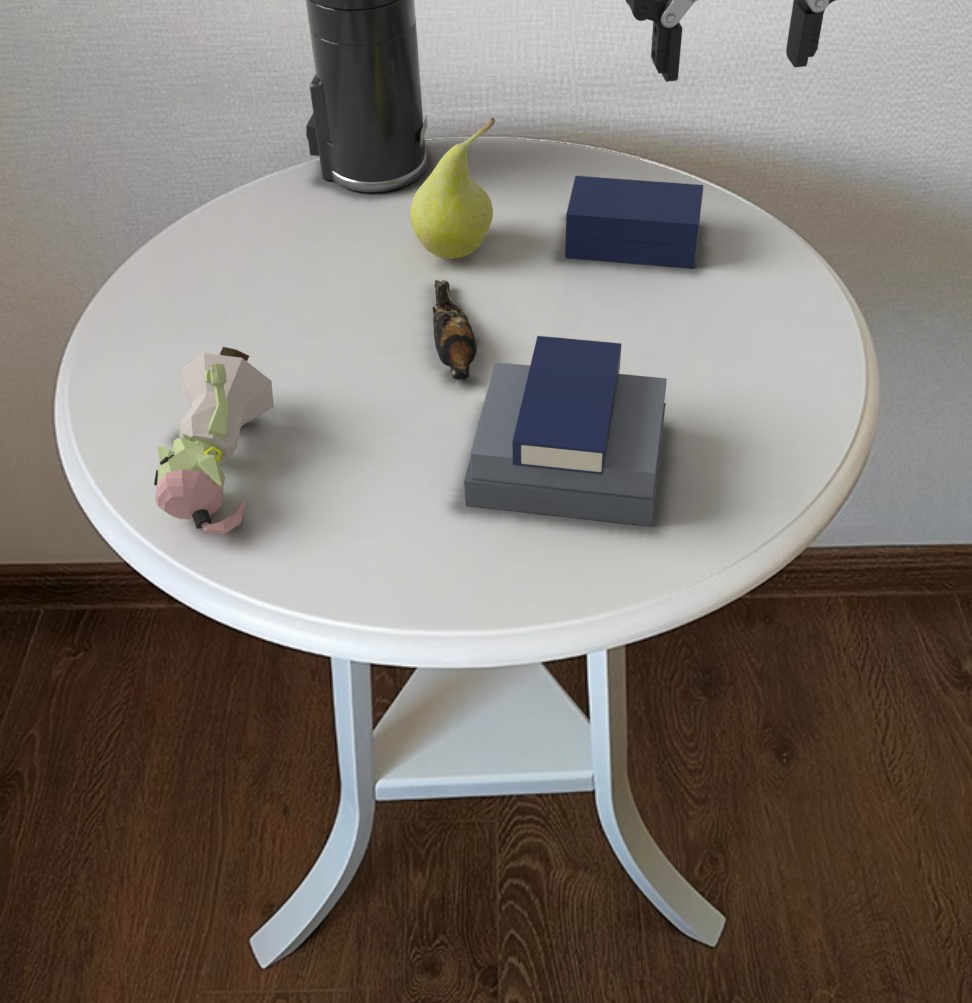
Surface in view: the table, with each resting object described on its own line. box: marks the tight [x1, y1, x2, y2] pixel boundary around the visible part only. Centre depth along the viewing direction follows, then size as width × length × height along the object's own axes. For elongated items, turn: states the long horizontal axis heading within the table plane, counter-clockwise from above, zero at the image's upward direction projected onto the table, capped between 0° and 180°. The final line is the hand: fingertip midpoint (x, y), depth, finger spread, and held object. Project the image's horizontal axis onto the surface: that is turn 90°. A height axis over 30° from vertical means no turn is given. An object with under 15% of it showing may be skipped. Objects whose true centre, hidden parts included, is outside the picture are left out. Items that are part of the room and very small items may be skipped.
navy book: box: [512, 335, 623, 475], centre depth 85 cm, size 6×11×2 cm, turn 170°
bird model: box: [431, 279, 478, 381], centre depth 99 cm, size 3×14×3 cm, turn 6°
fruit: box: [409, 117, 496, 260], centre depth 104 cm, size 7×8×12 cm
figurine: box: [153, 346, 275, 535], centre depth 88 cm, size 9×7×15 cm
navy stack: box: [564, 175, 704, 269], centre depth 107 cm, size 6×11×4 cm, turn 80°
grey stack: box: [463, 361, 668, 527], centre depth 88 cm, size 13×10×5 cm
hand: (731, 68), depth 81 cm, fingers open, 8 cm apart
